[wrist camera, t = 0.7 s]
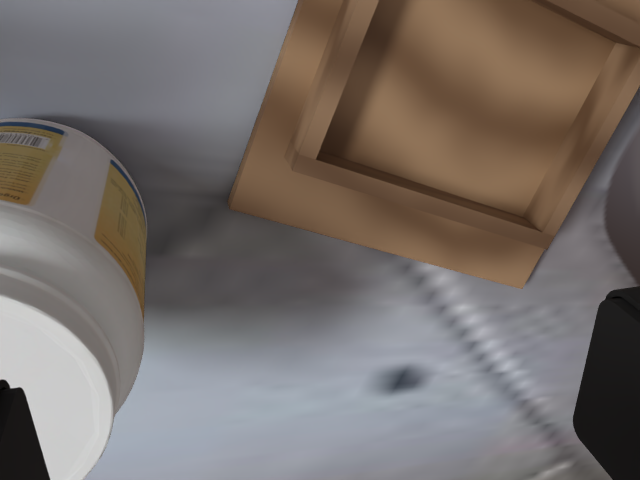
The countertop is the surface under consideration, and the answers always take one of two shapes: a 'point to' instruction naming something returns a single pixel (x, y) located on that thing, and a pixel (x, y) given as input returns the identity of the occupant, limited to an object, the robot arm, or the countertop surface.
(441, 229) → the brown shallow square tray
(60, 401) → the supplement tub
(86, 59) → the countertop surface
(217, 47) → the countertop surface
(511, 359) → the countertop surface
